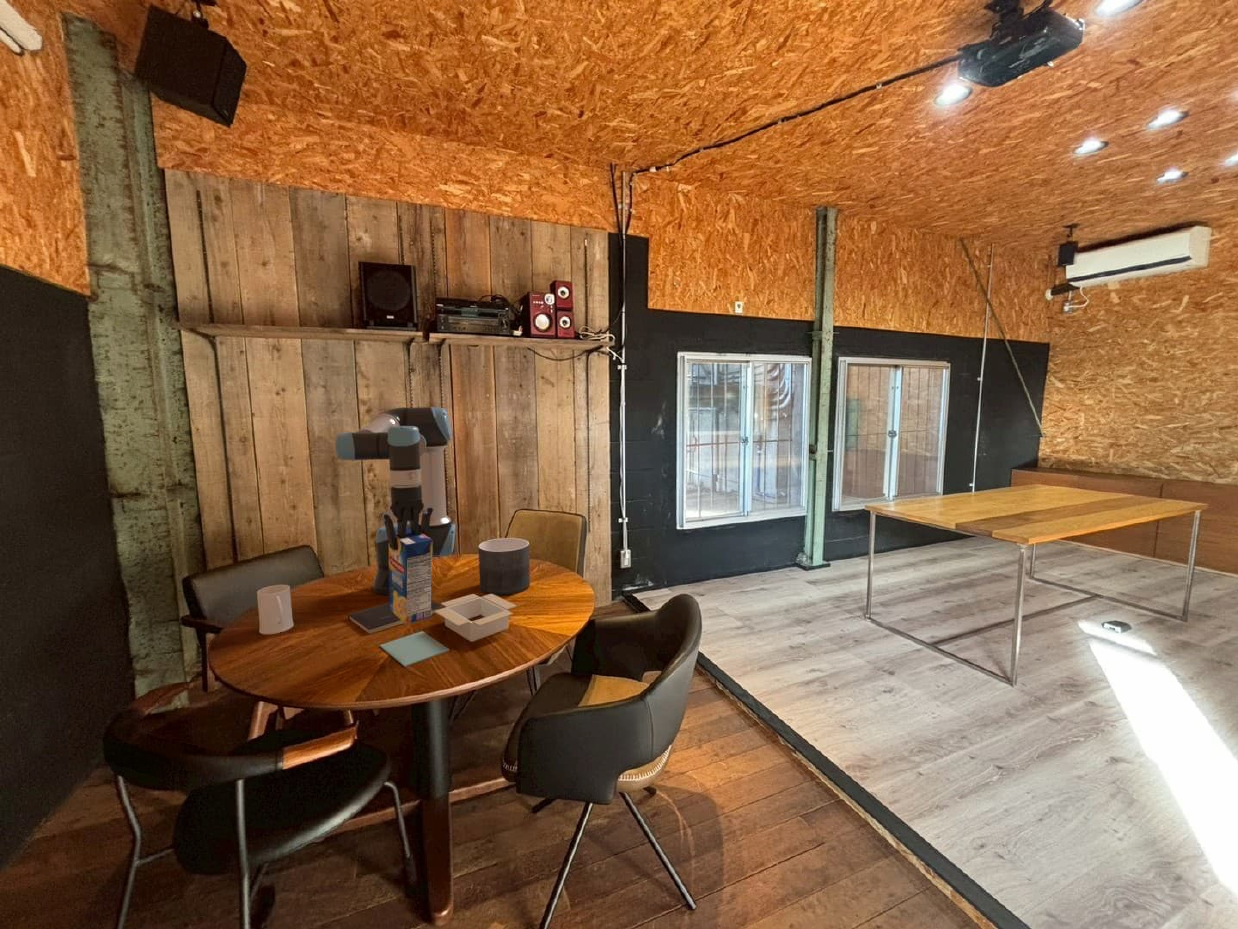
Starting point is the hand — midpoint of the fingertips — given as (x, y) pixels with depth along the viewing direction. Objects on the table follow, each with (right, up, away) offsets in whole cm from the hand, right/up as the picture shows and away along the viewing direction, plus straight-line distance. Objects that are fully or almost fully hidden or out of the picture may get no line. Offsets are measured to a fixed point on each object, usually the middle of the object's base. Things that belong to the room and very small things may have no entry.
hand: (410, 572), depth 137 cm
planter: (+14, -16, +50) cm, 54 cm away
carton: (+13, -20, +16) cm, 29 cm away
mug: (-45, -20, +14) cm, 51 cm away
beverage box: (-1, -12, +3) cm, 12 cm away
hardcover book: (-14, -19, +25) cm, 35 cm away
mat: (0, -21, +3) cm, 21 cm away
